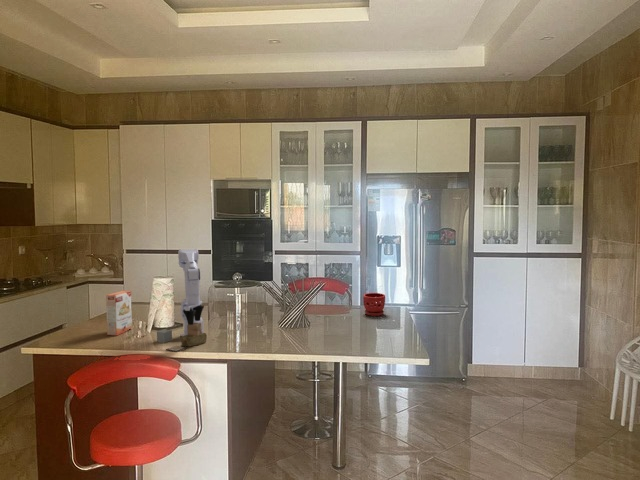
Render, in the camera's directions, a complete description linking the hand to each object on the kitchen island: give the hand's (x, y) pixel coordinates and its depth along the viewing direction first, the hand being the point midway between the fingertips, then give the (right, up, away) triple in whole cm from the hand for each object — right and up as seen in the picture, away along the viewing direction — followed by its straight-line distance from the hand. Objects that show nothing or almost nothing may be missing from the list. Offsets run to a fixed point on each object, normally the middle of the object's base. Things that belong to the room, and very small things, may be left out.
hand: (194, 322), depth 237 cm
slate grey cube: (-16, -10, +7) cm, 20 cm away
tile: (-6, -11, -8) cm, 15 cm away
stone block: (0, -11, +1) cm, 11 cm away
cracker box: (-45, -9, +24) cm, 51 cm away
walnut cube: (0, -6, 0) cm, 6 cm away
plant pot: (+92, -6, +62) cm, 111 cm away
